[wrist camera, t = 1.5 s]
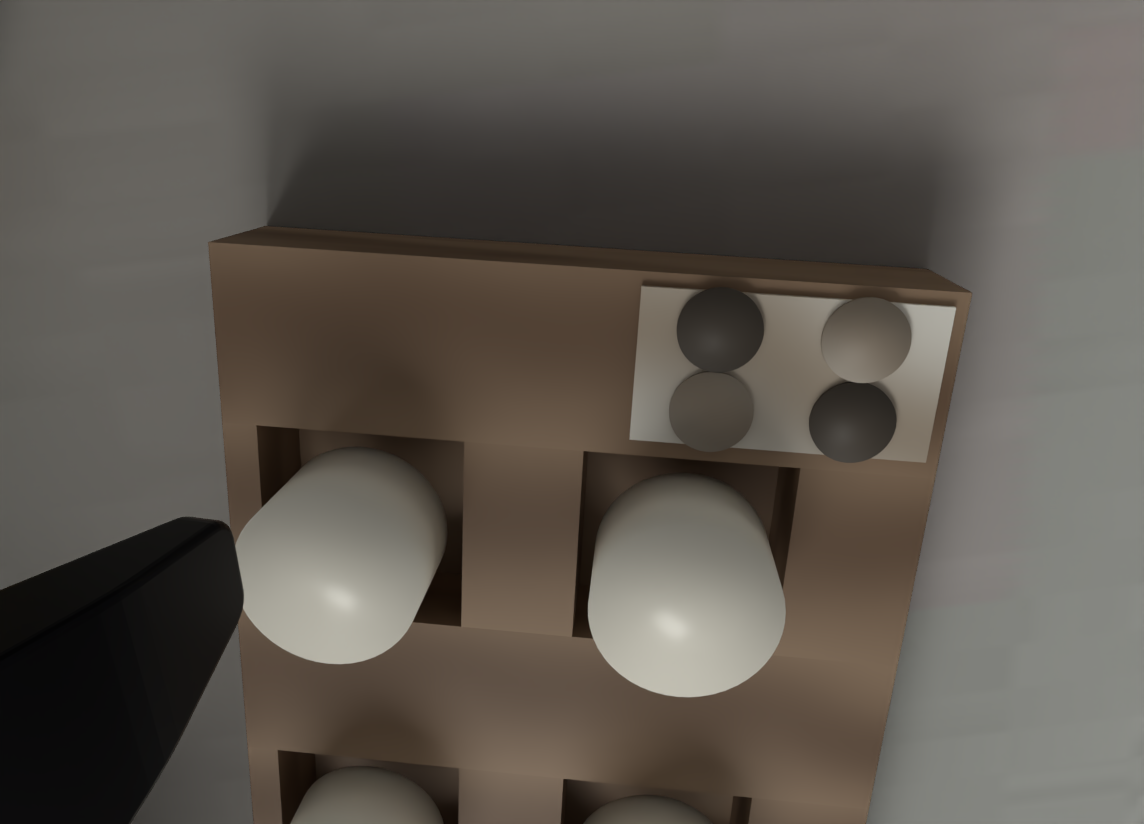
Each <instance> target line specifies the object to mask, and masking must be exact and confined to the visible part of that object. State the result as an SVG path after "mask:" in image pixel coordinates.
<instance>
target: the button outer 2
mask: <svg viewBox="0 0 1144 824" xmlns="http://www.w3.org/2000/svg"><path fill="white" fill-rule="evenodd" d="M785 615H786V608H785V598H784V594H783V590H782V586H781V583H780V579H779V576H778V572H777V569H776V565H775V562H774V558H773V555H772V552H771V548H770V545H769V541H768V538H767V534H766V531H765V528H764V525H763V523H762V520H761V518H760V516H759V515H758V513H757V511H756V510H755V508H754V507H753V506H752V505H751V503H750V502H749V501H748V500H747V499H746V498H745V497H744V496H743V495H742V494H741V493H739V492H738V491H737V490H735V489H734V488H733V487H731V486H729V485H727V484H726V483H724V482H722V481H719V480H717V479H714V478H712V477H708V476H705V475H701V474H694V473H669V474H663V475H658V476H654V477H651V478H649V479H646V480H643V481H641V482H639V483H637V484H635V485H633V486H632V487H631V488H629V489H628V490H626V491H625V492H624V493H622V494H621V495H620V496H619V497H618V498H617V499H616V500H615V501H614V502H613V503H612V505H611V506H610V507H609V508H608V510H607V512H606V513H605V515H604V516H603V519H602V521H601V523H600V525H599V529H598V532H597V536H596V543H595V551H594V559H593V567H592V576H591V584H590V592H589V600H588V620H589V626H590V630H591V633H592V636H593V639H594V641H595V643H596V645H597V648H598V649H599V651H600V652H601V654H602V655H603V657H604V658H605V660H606V661H607V662H608V663H609V664H610V665H611V667H613V668H614V669H615V670H616V671H617V672H618V673H619V674H620V675H622V676H623V677H625V678H626V679H627V680H629V681H630V682H632V683H634V684H636V685H638V686H640V687H642V688H644V689H647V690H649V691H652V692H655V693H659V694H663V695H668V696H675V697H700V696H707V695H712V694H716V693H719V692H723V691H726V690H728V689H731V688H733V687H735V686H737V685H739V684H741V683H742V682H744V681H746V680H748V679H749V678H750V677H751V676H753V675H754V674H755V673H757V672H758V671H759V670H760V669H761V668H762V667H763V666H764V665H765V664H766V663H767V661H768V660H769V659H770V657H771V656H772V655H773V653H774V651H775V649H776V648H777V646H778V644H779V641H780V639H781V636H782V634H783V629H784V625H785Z"/></svg>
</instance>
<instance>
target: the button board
mask: <svg viewBox="0 0 1144 824" xmlns="http://www.w3.org/2000/svg"><path fill="white" fill-rule="evenodd" d="M208 246H209V259H210V271H211V284H212V297H213V310H214V322H215V335H216V348H217V361H218V374H219V386H220V399H221V412H222V425H223V438H224V450H225V463H226V476H227V489H228V502H229V514H230V527H231V531H232V534H233V537H234V542H235V545H236V542H237V539H238V537H239V535H240V533H241V531H242V530H243V528H244V527H245V525H246V524H247V523H248V522H249V520H250V519H251V518H252V517H253V516H254V515H255V514H256V513H257V512H258V511H259V510H260V509H261V508H262V507H263V506H264V505H265V504H266V503H267V502H268V501H269V500H270V499H271V498H272V497H273V496H274V495H275V494H276V493H277V492H278V491H279V490H280V489H281V488H282V487H283V486H284V485H285V484H286V483H287V482H288V481H289V480H290V479H291V478H292V477H293V476H294V475H295V474H296V473H297V472H298V471H299V470H300V469H301V468H302V467H303V466H304V465H305V464H306V463H307V462H309V461H310V460H311V459H313V458H315V457H316V456H318V455H320V454H322V453H325V452H327V451H330V450H334V449H338V448H343V447H368V448H374V449H378V450H382V451H385V452H388V453H390V454H393V455H395V456H397V457H399V458H401V459H403V460H404V461H406V462H407V463H409V464H410V465H412V466H413V467H415V468H416V469H417V470H418V471H419V472H420V473H421V474H422V475H423V476H424V477H425V478H426V479H427V480H428V481H429V483H430V484H431V485H432V487H433V488H434V490H435V491H436V493H437V495H438V497H439V499H440V501H441V503H442V506H443V508H444V511H445V515H446V520H447V532H448V533H447V543H446V548H445V552H444V554H443V557H442V559H441V562H440V564H439V566H438V568H437V570H436V573H435V575H434V577H433V579H432V581H431V583H430V585H429V588H428V590H427V592H426V594H425V596H424V598H423V601H422V603H421V605H420V607H419V609H418V611H417V613H416V616H415V618H414V620H413V622H412V624H411V625H410V627H409V629H408V631H407V632H406V633H405V634H404V636H403V637H402V638H401V639H400V640H399V641H398V642H397V643H396V644H395V645H394V646H393V647H391V648H390V649H388V650H387V651H385V652H384V653H382V654H380V655H378V656H376V657H374V658H371V659H368V660H365V661H361V662H356V663H350V664H327V663H320V662H315V661H311V660H307V659H304V658H302V657H299V656H296V655H294V654H292V653H290V652H288V651H286V650H284V649H282V648H281V647H279V646H278V645H276V644H275V643H273V642H272V641H271V640H269V639H268V638H267V637H266V636H265V635H263V634H262V633H261V632H260V631H259V629H258V628H257V627H256V626H255V625H254V624H253V623H252V621H251V620H250V619H249V617H248V616H247V614H246V613H245V611H244V609H243V610H242V613H241V616H240V619H239V621H238V629H239V642H240V655H241V668H242V681H243V693H244V706H245V719H246V732H247V745H248V757H249V770H250V783H251V796H252V809H253V821H254V824H290V823H291V821H292V819H293V817H294V815H295V813H296V811H297V809H298V807H299V805H300V803H301V801H302V799H303V797H304V796H305V794H306V792H307V790H308V789H309V788H310V787H311V786H312V784H313V783H315V782H316V781H317V780H318V779H319V778H321V777H322V776H324V775H325V774H327V773H330V772H332V771H334V770H337V769H340V768H345V767H350V766H372V767H379V768H383V769H387V770H390V771H393V772H396V773H398V774H400V775H402V776H404V777H406V778H408V779H410V780H411V781H413V782H414V783H416V784H417V785H418V786H420V787H421V788H422V789H423V790H424V791H425V792H426V793H427V794H428V795H429V796H430V797H431V799H432V800H433V801H434V803H435V804H436V806H437V808H438V809H439V811H440V814H441V816H442V819H443V823H444V824H583V823H584V822H585V821H586V819H587V818H588V817H589V816H590V815H591V814H592V813H593V812H595V811H596V810H597V809H599V808H600V807H602V806H604V805H605V804H607V803H609V802H612V801H614V800H617V799H620V798H624V797H628V796H634V795H658V796H664V797H669V798H673V799H676V800H679V801H681V802H684V803H686V804H688V805H690V806H692V807H694V808H695V809H697V810H698V811H700V812H701V813H702V814H703V815H705V816H706V817H707V818H708V819H709V820H710V821H711V822H712V824H866V820H867V815H868V810H869V805H870V800H871V795H872V790H873V785H874V780H875V775H876V770H877V765H878V760H879V755H880V751H881V746H882V741H883V736H884V731H885V726H886V721H887V716H888V711H889V706H890V701H891V696H892V691H893V686H894V681H895V676H896V671H897V666H898V661H899V656H900V651H901V646H902V641H903V636H904V631H905V626H906V621H907V616H908V611H909V606H910V601H911V596H912V591H913V586H914V581H915V576H916V571H917V566H918V561H919V556H920V551H921V546H922V541H923V536H924V531H925V526H926V521H927V516H928V511H929V506H930V501H931V496H932V491H933V486H934V481H935V476H936V471H937V466H938V461H939V456H940V451H941V446H942V441H943V436H944V431H945V426H946V421H947V416H948V411H949V406H950V401H951V396H952V391H953V386H954V381H955V376H956V371H957V366H958V361H959V356H960V351H961V346H962V341H963V336H964V331H965V326H966V321H967V316H968V311H969V306H970V302H971V297H972V293H971V292H970V291H968V290H966V289H964V288H962V287H960V286H958V285H957V284H955V283H953V282H951V281H949V280H947V279H945V278H943V277H942V276H940V275H938V274H936V273H934V272H932V271H930V270H928V269H919V268H903V267H888V266H872V265H857V264H842V263H826V262H811V261H795V260H780V259H765V258H749V257H734V256H719V255H703V254H688V253H672V252H657V251H642V250H626V249H611V248H596V247H580V246H565V245H549V244H534V243H519V242H503V241H488V240H473V239H457V238H442V237H426V236H411V235H396V234H380V233H365V232H350V231H334V230H319V229H303V228H288V227H273V226H264V227H260V228H257V229H253V230H250V231H246V232H243V233H239V234H235V235H232V236H228V237H225V238H221V239H218V240H214V241H211V242H208ZM669 473H694V474H701V475H705V476H708V477H712V478H714V479H717V480H719V481H722V482H724V483H726V484H727V485H729V486H731V487H733V488H734V489H735V490H737V491H738V492H739V493H741V494H742V495H743V496H744V497H745V498H746V499H747V500H748V501H749V502H750V503H751V505H752V506H753V507H754V508H755V510H756V511H757V513H758V515H759V516H760V518H761V520H762V523H763V525H764V528H765V531H766V534H767V538H768V541H769V545H770V548H771V552H772V555H773V558H774V562H775V565H776V569H777V572H778V576H779V579H780V583H781V586H782V590H783V594H784V598H785V608H786V615H785V625H784V629H783V634H782V636H781V639H780V641H779V644H778V646H777V648H776V649H775V651H774V653H773V655H772V656H771V657H770V659H769V660H768V661H767V663H766V664H765V665H764V666H763V667H762V668H761V669H760V670H759V671H758V672H757V673H755V674H754V675H753V676H751V677H750V678H749V679H748V680H746V681H744V682H742V683H741V684H739V685H737V686H735V687H733V688H731V689H728V690H726V691H723V692H719V693H716V694H712V695H707V696H700V697H675V696H668V695H663V694H659V693H655V692H652V691H649V690H647V689H644V688H642V687H640V686H638V685H636V684H634V683H632V682H630V681H629V680H627V679H626V678H625V677H623V676H622V675H620V674H619V673H618V672H617V671H616V670H615V669H614V668H613V667H611V665H610V664H609V663H608V662H607V661H606V660H605V658H604V657H603V655H602V654H601V652H600V651H599V649H598V648H597V645H596V643H595V641H594V639H593V636H592V633H591V630H590V626H589V620H588V600H589V592H590V584H591V576H592V567H593V559H594V551H595V543H596V536H597V532H598V529H599V525H600V523H601V521H602V519H603V516H604V515H605V513H606V512H607V510H608V508H609V507H610V506H611V505H612V503H613V502H614V501H615V500H616V499H617V498H618V497H619V496H620V495H621V494H622V493H624V492H625V491H626V490H628V489H629V488H631V487H632V486H633V485H635V484H637V483H639V482H641V481H643V480H646V479H649V478H651V477H654V476H658V475H663V474H669Z"/></svg>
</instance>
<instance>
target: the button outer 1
mask: <svg viewBox="0 0 1144 824" xmlns="http://www.w3.org/2000/svg"><path fill="white" fill-rule="evenodd" d="M583 824H712V822H711V821H710V820H709V819H708V818H707V817H706V816H705V815H703V814H702V813H701V812H700V811H698V810H697V809H695V808H694V807H692V806H690V805H688V804H686V803H684V802H681V801H679V800H676V799H673V798H669V797H664V796H658V795H634V796H628V797H624V798H620V799H617V800H614V801H612V802H609V803H607V804H605V805H604V806H602V807H600V808H599V809H597V810H596V811H595V812H593V813H592V814H591V815H590V816H589V817H588V818H587V819H586V821H585V822H584V823H583Z"/></svg>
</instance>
